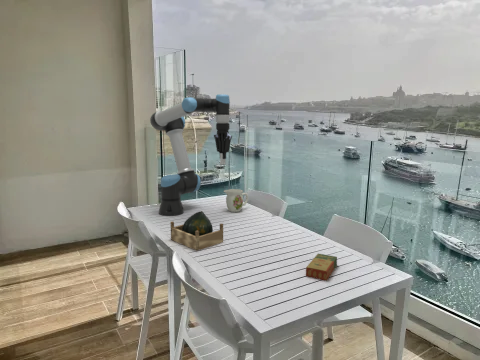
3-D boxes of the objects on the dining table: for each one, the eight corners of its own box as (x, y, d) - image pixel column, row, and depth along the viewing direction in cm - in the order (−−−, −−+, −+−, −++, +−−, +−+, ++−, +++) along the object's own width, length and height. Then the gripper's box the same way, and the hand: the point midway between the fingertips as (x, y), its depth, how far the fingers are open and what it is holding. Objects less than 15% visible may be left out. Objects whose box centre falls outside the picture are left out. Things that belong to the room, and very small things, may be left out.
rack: (170, 239, 171) (170, 221, 169) (196, 232, 182) (196, 215, 181) (197, 250, 157) (197, 231, 156) (223, 241, 168) (223, 223, 167)
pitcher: (252, 210, 224) (252, 189, 221) (228, 214, 214) (228, 192, 212) (243, 206, 233) (243, 186, 230) (219, 210, 223) (219, 189, 221)
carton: (305, 277, 133) (305, 266, 132) (317, 262, 147) (317, 252, 146) (326, 281, 129) (327, 271, 129) (337, 265, 143) (337, 256, 142)
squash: (176, 235, 160) (197, 211, 160) (177, 227, 175) (196, 204, 175) (199, 254, 163) (220, 230, 163) (198, 244, 178) (218, 222, 178)
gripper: (235, 122, 194) (235, 165, 198) (219, 122, 203) (219, 162, 207) (225, 123, 189) (225, 166, 193) (210, 122, 198) (210, 163, 202)
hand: (222, 164), depth 200 cm, fingers closed
